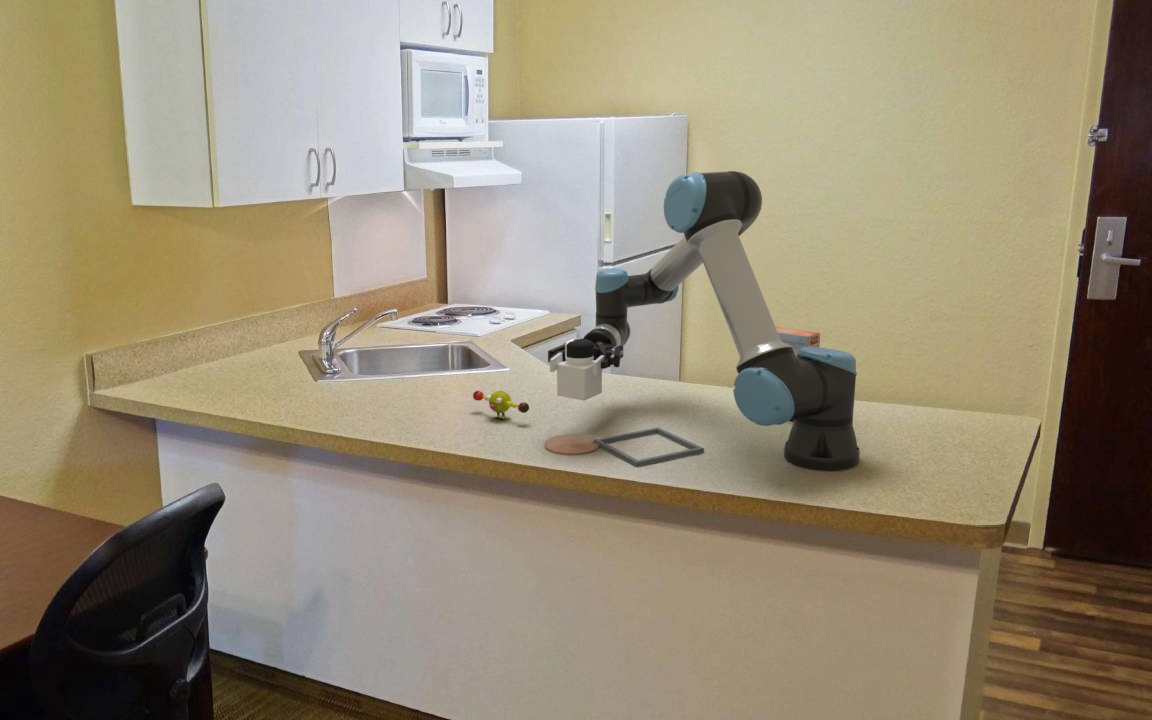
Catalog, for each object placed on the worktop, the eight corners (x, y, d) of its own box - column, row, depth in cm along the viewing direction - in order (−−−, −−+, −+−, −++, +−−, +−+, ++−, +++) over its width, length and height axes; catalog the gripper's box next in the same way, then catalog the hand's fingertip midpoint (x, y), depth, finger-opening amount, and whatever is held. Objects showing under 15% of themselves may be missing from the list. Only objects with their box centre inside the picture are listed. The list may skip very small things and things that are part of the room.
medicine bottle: (602, 393, 207) (602, 339, 204) (584, 401, 201) (584, 345, 199) (574, 388, 211) (574, 335, 208) (556, 396, 205) (556, 341, 202)
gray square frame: (703, 452, 203) (704, 448, 203) (636, 467, 195) (636, 462, 194) (658, 431, 217) (658, 427, 217) (593, 444, 209) (593, 439, 209)
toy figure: (465, 414, 232) (465, 387, 230) (482, 409, 236) (482, 382, 234) (518, 429, 220) (517, 400, 218) (535, 423, 224) (534, 395, 222)
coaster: (610, 448, 206) (610, 445, 206) (561, 458, 200) (561, 455, 200) (582, 433, 216) (582, 431, 216) (535, 442, 210) (535, 439, 210)
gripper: (646, 362, 219) (622, 388, 198) (556, 356, 225) (524, 381, 204) (646, 330, 217) (623, 353, 196) (556, 325, 223) (524, 346, 202)
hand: (573, 367), depth 200 cm, fingers closed on medicine bottle, 9 cm apart
